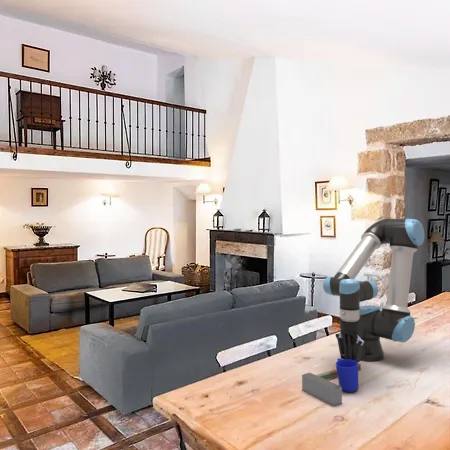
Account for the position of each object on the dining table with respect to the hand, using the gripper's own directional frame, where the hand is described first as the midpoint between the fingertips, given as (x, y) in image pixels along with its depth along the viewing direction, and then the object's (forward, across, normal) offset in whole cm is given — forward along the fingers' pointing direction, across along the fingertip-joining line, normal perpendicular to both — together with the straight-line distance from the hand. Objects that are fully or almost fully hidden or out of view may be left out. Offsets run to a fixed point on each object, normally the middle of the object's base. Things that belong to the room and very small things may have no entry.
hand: (350, 378), depth 168 cm
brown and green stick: (+2, -8, 0) cm, 8 cm away
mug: (+2, +2, -4) cm, 4 cm away
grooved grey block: (+2, +2, -18) cm, 18 cm away
